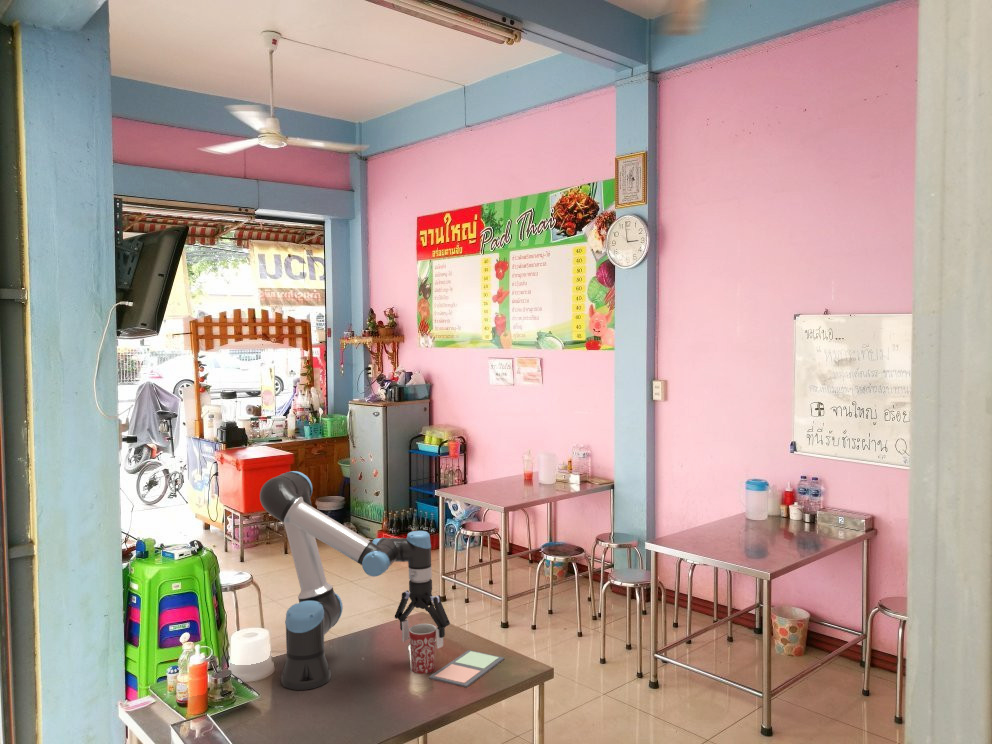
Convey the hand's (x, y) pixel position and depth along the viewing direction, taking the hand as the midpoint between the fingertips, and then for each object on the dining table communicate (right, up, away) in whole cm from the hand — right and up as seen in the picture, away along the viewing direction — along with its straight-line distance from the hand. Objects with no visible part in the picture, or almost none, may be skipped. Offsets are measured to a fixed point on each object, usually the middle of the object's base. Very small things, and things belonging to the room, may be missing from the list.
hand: (422, 643), depth 252 cm
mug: (0, -8, 0) cm, 8 cm away
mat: (+15, -8, -1) cm, 17 cm away
